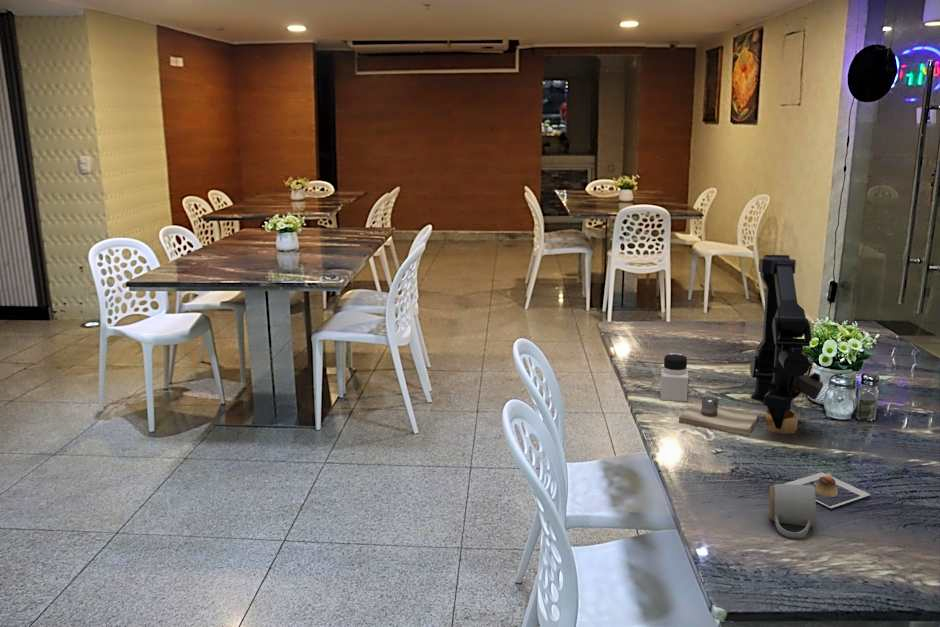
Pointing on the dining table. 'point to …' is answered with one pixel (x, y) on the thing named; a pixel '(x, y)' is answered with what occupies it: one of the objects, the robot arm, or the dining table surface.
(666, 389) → the medicine bottle
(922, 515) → the dining table surface
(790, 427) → the ring
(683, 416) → the piston stand
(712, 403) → the piston
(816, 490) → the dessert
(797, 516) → the ceramic mug
